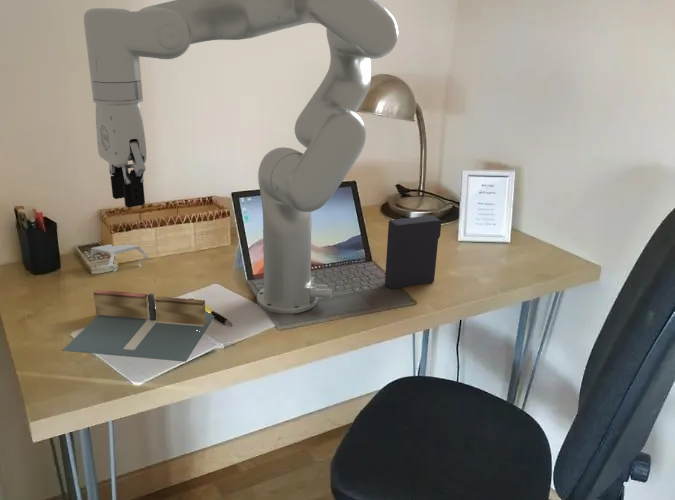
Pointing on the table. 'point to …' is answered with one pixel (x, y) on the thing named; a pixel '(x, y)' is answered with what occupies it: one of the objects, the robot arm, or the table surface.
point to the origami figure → (117, 252)
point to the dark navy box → (412, 251)
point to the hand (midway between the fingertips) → (128, 200)
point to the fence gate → (121, 304)
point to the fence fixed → (177, 310)
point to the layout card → (139, 338)
